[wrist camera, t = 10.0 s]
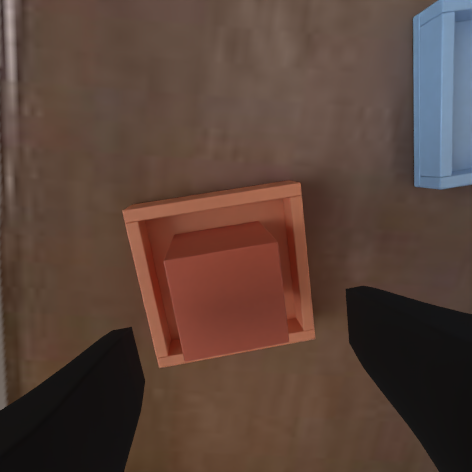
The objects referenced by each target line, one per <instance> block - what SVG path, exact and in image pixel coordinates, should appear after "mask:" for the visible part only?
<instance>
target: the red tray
mask: <svg viewBox="0 0 472 472" xmlns="http://www.w3.org/2000/svg"><path fill="white" fill-rule="evenodd" d="M301 195H302V191H301V183H299V182H295V181H291V180H287V181H280V182H274V183H267V184H261V185H254V186H248V187H242V188H235V189H229V190H222V191H216V192H210V193H203V194H197V195H190V196H184V197H177V198H171V199H165V200H158V201H152V202H145V203H139V204H132V205H131V206H129V207H128V208H126V209H124V210H123V211H122V212H123V216H124V221H125V223H126V224H125V225H126V229H127V234H128V238H129V242H130V246H131V251H132V255H133V259H134V263H135V268H136V272H137V276H138V280H139V285H140V289H141V293H142V297H143V302H144V306H145V310H146V314H147V319H148V323H149V327H150V331H151V336H152V340H153V344H154V348H155V353H156V357H157V361H158V365H159V368H163V367H169V366H174V365H179V364H185V363H190V362H195V361H201V360H206V359H211V358H217V357H222V356H227V355H232V354H238V353H243V352H248V351H254V350H259V349H264V348H270V347H275V346H280V345H286V344H291V343H296V342H302V341H307V340H312V339H315V330H314V319H313V309H312V298H311V287H310V277H309V266H308V256H307V245H306V234H305V224H304V213H303V202H302V196H301ZM255 221H259V222H260V223H261V224H262V225H263V227H264V228H265V229H266V230H267V231H268V232H269V233H270V234H271V235H272V236H273V237H274V239H275V240H276V241H277V242H278V248H279V256H280V265H281V273H282V282H283V290H284V299H285V308H286V316H287V325H288V333H289V342H288V343H283V344H277V345H272V346H267V347H261V348H256V349H251V350H245V351H240V352H235V353H229V354H224V355H219V356H213V357H208V358H203V359H197V360H192V361H187V362H185V361H184V357H183V352H182V347H181V343H180V338H179V333H178V328H177V324H176V319H175V314H174V310H173V305H172V300H171V295H170V291H169V286H168V281H167V276H166V272H165V267H164V259H165V256H166V254H167V251H168V249H169V246H170V244H171V241H172V239H173V236H174V235H175V234H181V233H187V232H193V231H199V230H205V229H212V228H218V227H224V226H230V225H236V224H242V223H248V222H255Z"/></svg>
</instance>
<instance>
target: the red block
mask: <svg viewBox="0 0 472 472" xmlns="http://www.w3.org/2000/svg"><path fill="white" fill-rule="evenodd" d="M164 267H165V272H166V276H167V281H168V286H169V291H170V295H171V300H172V305H173V310H174V314H175V319H176V324H177V328H178V333H179V338H180V343H181V347H182V352H183V357H184V361H185V362H187V361H192V360H197V359H203V358H208V357H213V356H219V355H224V354H229V353H235V352H240V351H245V350H251V349H256V348H261V347H267V346H272V345H277V344H283V343H288V342H289V333H288V325H287V316H286V308H285V299H284V290H283V282H282V273H281V265H280V256H279V248H278V242H277V241H276V240H275V239H274V237H273V236H272V235H271V234H270V233H269V232H268V231H267V230H266V229H265V228H264V227H263V225H262V224H261V223H260V222H259V221H255V222H248V223H242V224H236V225H230V226H224V227H218V228H212V229H205V230H199V231H193V232H187V233H181V234H175V235H174V236H173V239H172V241H171V244H170V246H169V249H168V251H167V254H166V256H165V259H164Z"/></svg>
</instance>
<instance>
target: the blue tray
mask: <svg viewBox="0 0 472 472" xmlns="http://www.w3.org/2000/svg"><path fill="white" fill-rule="evenodd" d="M413 80H414V186H415V187H423V188H431V189H440V190H441V189H447V188H454V187H460V186H466V185H472V0H438V1H437V2H435V3H434V4H432V5H431V6H429V7H428V8H426V9H425V10H424V11H422V12H421V13H419V14H418V15H416V16H415V17H413Z"/></svg>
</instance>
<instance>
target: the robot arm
mask: <svg viewBox="0 0 472 472" xmlns="http://www.w3.org/2000/svg"><path fill="white" fill-rule="evenodd" d="M346 301H347V316H348V331H349V343H350V345H351V347H352V348H353V350H354V352H355V354H356V356H357V357H358V359H359V361H360V362H361V364H362V366H363V367H364V369H365V370H366V372H367V373H368V374H369V376H370V377H371V378H372V379H373V381H374V382H375V383H376V385H377V386H378V387H379V389H380V390H381V391H382V392H383V394H384V395H385V396H386V398H387V399H388V400H389V401H390V403H391V404H392V405H393V407H394V408H395V409H396V410H397V412H398V413H399V414H400V416H401V417H402V418H403V419H404V421H405V422H406V423H407V424H408V426H409V427H410V428H411V430H412V431H413V433H414V434H415V435H416V437H417V438H418V440H419V441H420V442H421V444H422V445H423V447H424V449H425V450H426V452H427V453H428V455H429V456H430V458H431V459H432V461H433V463H434V464H435V466H436V467H437V469H438V470H439V472H472V314H468V313H463V312H459V311H455V310H451V309H447V308H443V307H439V306H435V305H431V304H428V303H424V302H421V301H417V300H414V299H411V298H407V297H404V296H400V295H397V294H394V293H390V292H387V291H384V290H380V289H376V288H372V287H367V286H360V287H354V288H349V289H346ZM144 385H145V379H144V375H143V371H142V367H141V363H140V359H139V355H138V351H137V347H136V343H135V339H134V335H133V331H132V327H129V328H123V329H118V330H113V331H111V332H109V333H108V334H106V335H105V336H103V337H102V338H101V339H99V340H98V341H97V342H95V343H94V344H93V345H91V346H90V347H89V348H88V349H86V350H85V351H84V352H82V353H81V354H80V355H79V356H77V357H76V358H75V359H74V360H72V361H71V362H70V363H68V364H67V365H66V366H65V367H63V368H62V369H60V370H59V371H58V372H56V373H55V374H54V375H52V376H51V377H49V378H48V379H47V380H45V381H44V382H43V383H41V384H40V385H38V386H37V387H36V388H34V389H33V390H31V391H30V392H28V393H27V394H26V395H24V396H22V397H21V398H19V399H18V400H16V401H15V402H13V403H12V404H10V405H8V406H7V407H5V408H4V409H2V410H0V472H124V469H125V465H126V462H127V458H128V455H129V451H130V448H131V444H132V441H133V437H134V434H135V430H136V427H137V423H138V419H139V416H140V412H141V406H142V400H143V393H144Z"/></svg>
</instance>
